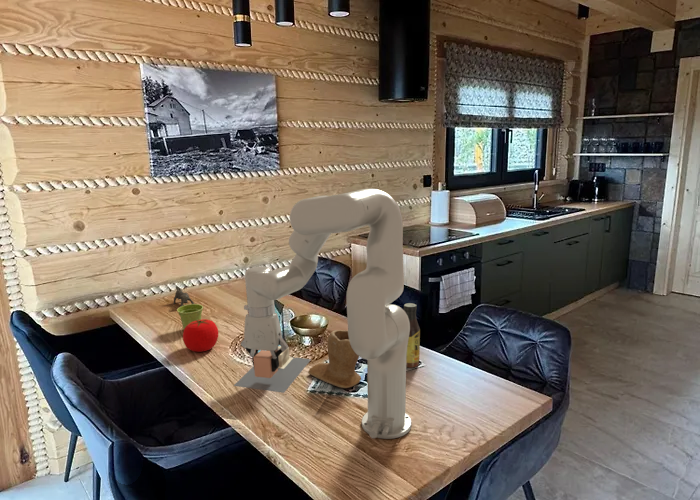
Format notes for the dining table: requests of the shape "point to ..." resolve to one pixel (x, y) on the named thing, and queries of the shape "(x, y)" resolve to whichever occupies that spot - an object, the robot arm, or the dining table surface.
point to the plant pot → (190, 313)
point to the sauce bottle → (412, 336)
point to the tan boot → (338, 362)
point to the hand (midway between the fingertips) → (266, 368)
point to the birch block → (283, 357)
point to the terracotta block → (263, 364)
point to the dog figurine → (182, 297)
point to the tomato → (200, 335)
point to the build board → (275, 376)
